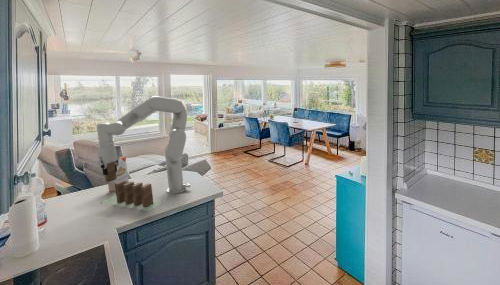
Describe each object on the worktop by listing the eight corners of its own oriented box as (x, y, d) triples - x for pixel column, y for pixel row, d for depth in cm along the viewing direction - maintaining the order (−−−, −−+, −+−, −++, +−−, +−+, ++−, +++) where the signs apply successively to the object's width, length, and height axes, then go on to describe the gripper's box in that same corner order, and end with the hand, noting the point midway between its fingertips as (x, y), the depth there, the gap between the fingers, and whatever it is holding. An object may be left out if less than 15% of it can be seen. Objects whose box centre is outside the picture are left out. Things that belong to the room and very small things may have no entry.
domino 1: (116, 178, 170) (114, 159, 168) (108, 182, 165) (105, 162, 163) (113, 178, 171) (111, 159, 169) (105, 181, 166) (102, 162, 164)
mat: (163, 202, 164) (163, 202, 164) (149, 211, 153) (149, 210, 153) (115, 195, 179) (115, 195, 178) (99, 203, 168) (99, 202, 168)
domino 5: (153, 203, 163) (151, 183, 161) (146, 207, 158) (143, 187, 155) (150, 202, 164) (147, 183, 162) (142, 206, 159) (140, 187, 156)
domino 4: (144, 201, 166) (142, 182, 163) (137, 206, 160) (134, 186, 158) (141, 201, 167) (139, 182, 164) (134, 205, 161) (131, 185, 159)
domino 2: (128, 199, 171) (125, 180, 168) (120, 203, 165) (117, 184, 163) (125, 199, 171) (122, 180, 169) (117, 202, 166) (114, 183, 164)
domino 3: (136, 200, 168) (133, 181, 166) (128, 204, 163) (126, 185, 160) (133, 200, 169) (130, 181, 167) (125, 204, 164) (122, 184, 161)
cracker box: (116, 192, 185) (112, 162, 181) (108, 192, 186) (104, 161, 182) (129, 185, 198) (125, 156, 194) (122, 184, 200) (118, 156, 195)
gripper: (113, 140, 173) (117, 168, 176) (88, 146, 157) (93, 177, 161) (122, 141, 170) (126, 169, 174) (98, 147, 155) (102, 178, 158)
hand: (110, 172), depth 167 cm, fingers closed on domino 1, 5 cm apart
